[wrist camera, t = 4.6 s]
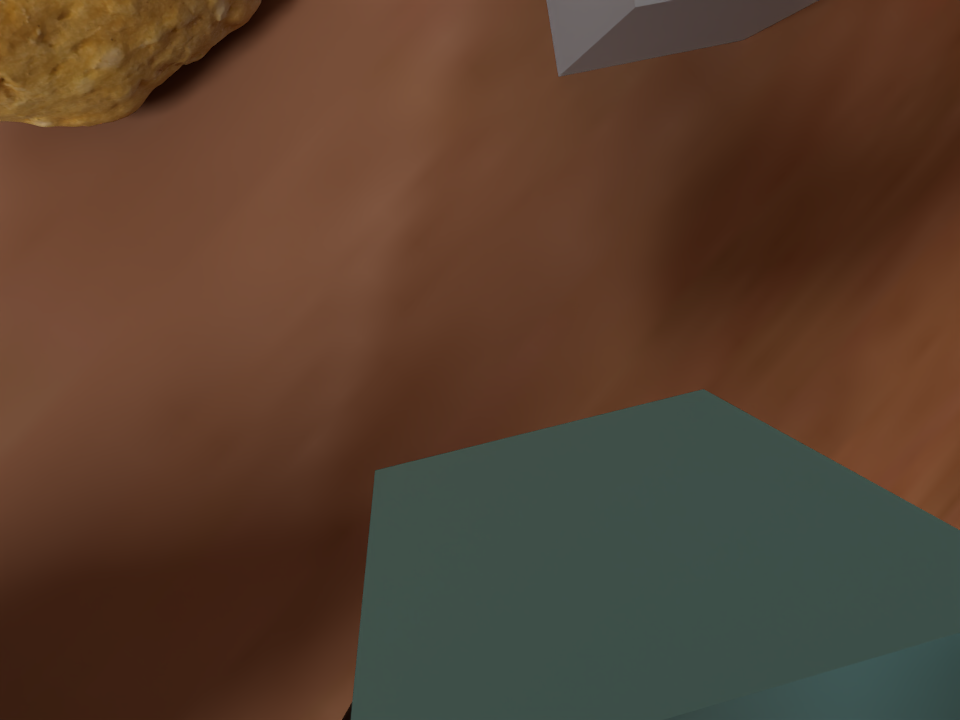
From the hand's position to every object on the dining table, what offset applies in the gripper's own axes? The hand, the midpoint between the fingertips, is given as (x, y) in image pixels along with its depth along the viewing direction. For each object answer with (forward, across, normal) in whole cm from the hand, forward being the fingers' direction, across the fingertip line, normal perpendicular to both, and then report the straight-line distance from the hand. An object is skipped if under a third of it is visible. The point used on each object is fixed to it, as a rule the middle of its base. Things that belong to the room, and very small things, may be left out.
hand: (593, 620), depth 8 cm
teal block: (+1, 0, 0) cm, 1 cm away
